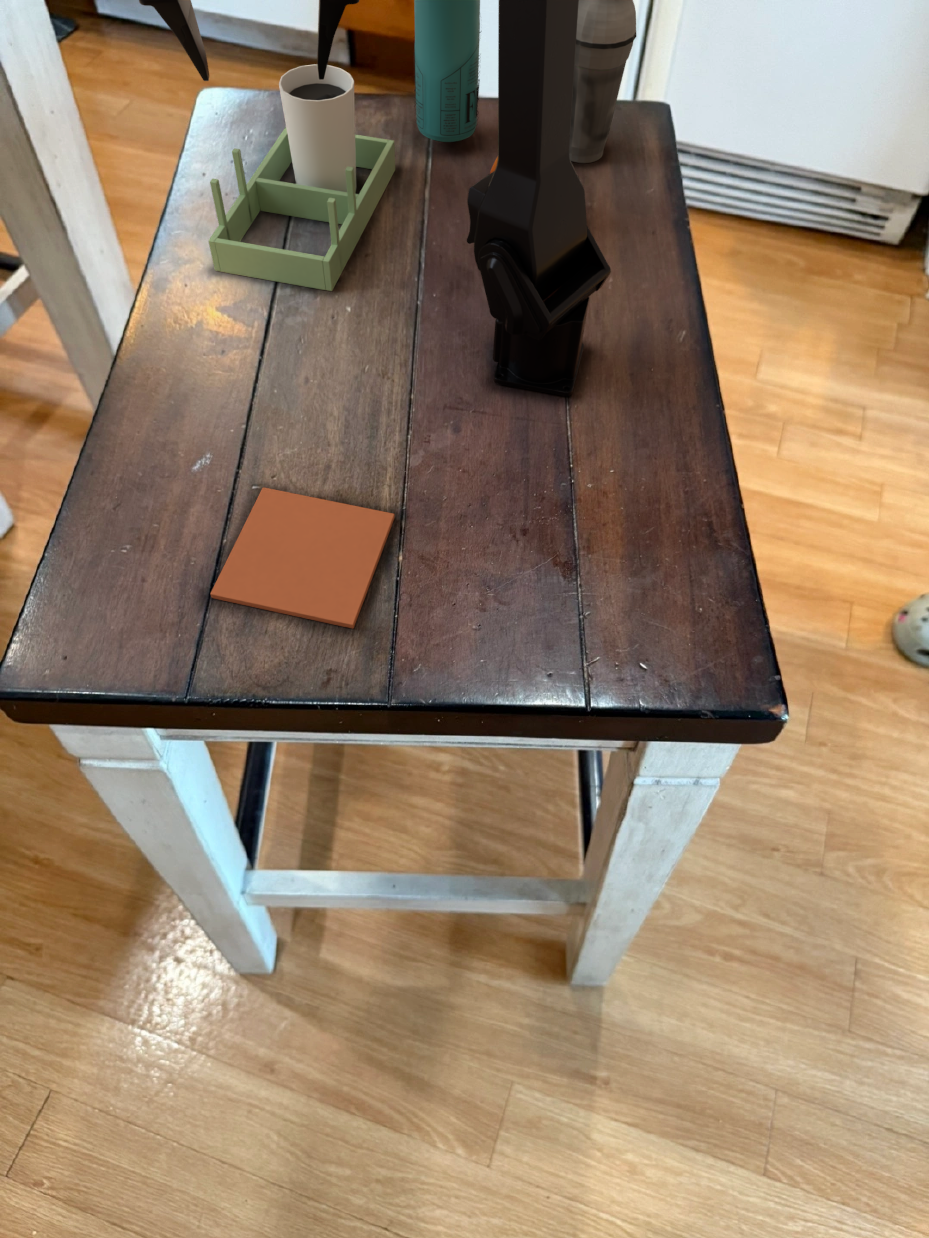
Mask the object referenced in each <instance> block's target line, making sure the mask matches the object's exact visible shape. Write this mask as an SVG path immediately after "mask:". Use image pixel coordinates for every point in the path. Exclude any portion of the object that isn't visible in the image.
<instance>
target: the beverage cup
mask: <svg viewBox="0 0 929 1238" xmlns="http://www.w3.org/2000/svg"><path fill="white" fill-rule="evenodd" d="M636 11H637V10H636V5H635V2H634V0H579V3H578V19H577V34H576V50H575V66H574V81H573V97H572V113H571V128H570V144H569V157H570V161H571V162H574V163H579V164H589V163H594V162H597V161H599V160H600V159H601V158H602V157H603V155H604V149H605V147H606V143H607V141H608V138H609V133H610V130H611V125H612V121H613V117H614V113H615V110H616V105H617V100H618V97H619V93H620V90H621V89H620V88H621V85H622V82H623V76H624V73H625V68H626V64H627V61H628V60H629V57H630V55H631V52H632V49H633V46H634V41H635V39H637V12H636Z"/></svg>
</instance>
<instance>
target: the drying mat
mask: <svg viewBox="0 0 929 1238" xmlns="http://www.w3.org/2000/svg"><path fill="white" fill-rule="evenodd" d="M395 519H396V518H395V513H392V512H387V511H383V510H378V509H374V508H367V507H362V506H358V505H354V504H353V505H352V504H348V503H344V502H338V501H332V500H329V499H323V498H320V497H319V498H318V497H314V496H308V495H304V494H298V493H294V492H288V491H284V490H278V489H273V488H269V487H262V488H261V490H260V492H259V493H258V496H257V499H256V501H255V502H254V505H253V506H252V508H251V510H250V512H249V515H248V516H247V518H246V521H245V523H244V525H243V526H242V529H241V531H240V533H239V535H238V537H237V538H236V541H235V542H234V544H233V547H232V549H231V551H230V553H229V555H228V557H227V559H226V561H225V563H224V566H223V567H222V569H221V571H220V573H219V575H218V577H217V580H216V582H215V583H214V586H213V587H212V589H211V591H210V598H211V599H215V600H219V601H224V602H229V603H234V604H237V605H243V606H247V607H252V608H257V609H261V610H265V611H270V612H274V613H279V614H284V615H287V616H288V615H289V616H293V617H298V618H302V619H305V620H306V619H307V620H312V621H315V622H321V623H325V624H330V625H334V626H339V627H342V628H343V627H344V628H348V629H353V630H354V628H355V626H356V623H357V621H358V619H359V614H360V612H361V610H362V607H363V604H364V602H365V598H366V597H367V594H368V592H369V588H370V585H371V583H372V580H373V577H374V575H375V572H376V570H377V567H378V564H379V561H380V559H381V557H382V553H383V550H384V548H385V545H386V543H387V540H388V537H389V534H390V532H391V529H392V526H393V525H394V524H393V523H394V521H395Z"/></svg>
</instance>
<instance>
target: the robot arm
mask: <svg viewBox="0 0 929 1238" xmlns="http://www.w3.org/2000/svg"><path fill="white" fill-rule="evenodd" d="M138 2H139V4H140V5H142V6H146V7H148V6H149V7H152V8H154V10H155V11H156V12H157V14H158V15H159V16H160V17H161V19H162V20H163V21H164V22H165V25H167V27H168V28H169V29H170V30H171V31H172V32H173V34H174V36H175V37H176V38H177V40H178V41H179V44H180V45H181V46H182V48H183V49H184V51H185V53H186V54H187V56H188V58H189V59H190V61H191V63H192V64H193V66H194V68H195V69H196V71H197V73H198V74H199V76H200V77H201V79H202V81H203V82H209V81H210V69H209V63H208V58H207V57H208V56H207V52H206V49H205V46H204V42H203V39H202V35H201V31H200V27H199V24H198V21H197V17H196V13H195V11H194V5H193V2H192V0H138ZM359 2H360V0H318V13H317V14H318V15H317V16H318V18H317V46H316V52H317V53H316V64H317V66H318V75H319V80H323V79H324V77H325V72H326V68H327V65H329V59H330V55H331V51H332V48H333V47H332V46H333V42H334V39H335V35H336V32H337V29H338V27H339V25H340V22H341V20H342V17H343V15H344V12H345V10H346V8H347V6H349V5H356V4H358V3H359ZM578 3H579V0H498V15H497V16H498V22H497V23H498V37H497V38H498V39H497V42H498V43H497V44H498V47H497V48H498V49H497V51H498V53H497V54H498V55H497V60H498V61H497V62H498V65H497V66H498V67H497V70H498V71H497V73H498V74H497V79H498V80H497V95H498V96H497V157H498V161H497V166H496V169H495V171H494V172H492V173H491V174H490V173H489V174H487V175H486V176H485V177H482V179H480V180H479V181H477V182H476V183H475V184H473V185H472V186H470V187H469V188H468V194H467V202H466V203H467V208H468V215H469V222H470V223H469V232H468V234H467V238H466V243H467V244H469V245H471V244H473V255H474V260H475V263H476V266H477V270H478V271H479V272H480V277H481V280H482V285H483V288H484V292H485V293H484V294H485V297H486V300H487V301H486V302H487V305H488V309H489V313H490V316H491V317H492V318H494V319H495V321H494V335H493V348H492V349H493V350H492V360H493V362H494V363H497V365H496V368H495V371H494V374H493V382H494V383H496V384H497V385H503V386H508V387H512V388H513V387H514V388H519V389H524V390H530V391H535V392H539V393H540V392H541V393H546V394H552V395H556V396H562V397H570V396H572V394H573V392H574V389H575V384H576V380H577V376H578V372H579V370H580V369H579V368H580V364H581V361H582V357H583V352H584V349H585V348H584V347H585V344H584V343H583V339H584V333H585V326H586V322H587V321H586V320H587V315H588V310H589V309H588V308H589V303H590V296H592V295H593V294H594V293H595V292H598V291H599V290H601V288H602V287H603V286H604V284H605V283H606V282H607V280H608V278H609V276H610V275H611V273H612V269H611V267H610V265H609V263H608V261H607V259H606V257H605V256H604V254H603V252H602V249H601V248H600V247H599V245H598V243H597V241H596V239H595V237H594V235H593V234H592V231H591V230H590V228H589V226H588V223H587V222H588V221H587V206H586V193H585V187H584V185H583V183H582V181H581V179H580V176H579V175H578V173H577V171H576V169H575V167H574V164H573V163H572V161H570V157H569V144H570V128H571V113H572V97H573V81H574V66H575V50H576V34H577V19H578Z"/></svg>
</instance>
